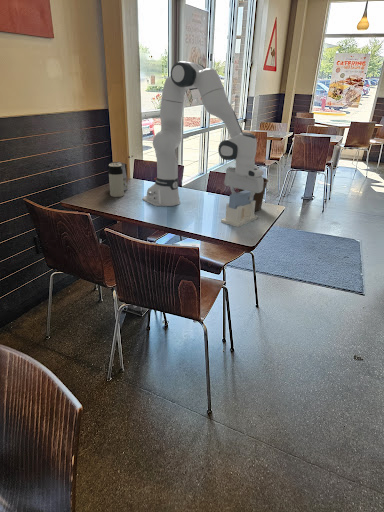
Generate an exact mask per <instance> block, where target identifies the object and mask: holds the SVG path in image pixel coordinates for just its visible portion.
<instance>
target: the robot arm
mask: <svg viewBox="0 0 384 512" xmlns="http://www.w3.org/2000/svg"><path fill="white" fill-rule="evenodd" d="M223 85H224V84H223V82H222V80H221V77H220V75H219V74H218V72H217V71H216V70H215V69H214V68H211V67H207V68H206V67H205V66H204V65H203V64H198V63H197V62H193V61H184V60H181V61H177V62H176V63H174V64H173V65H172V67H171V70H170V75H169V76H168V77H167V78H165V81H164V84H163V88H162V91H161V92H162V93H161V100H160V101H161V102H160V109H159V118H160V131H158V132H157V133H156V134H155V136H154V137H153V139H152V146H153V148H154V152H155V158H156V168H157V170H156V173H157V176H156V177H155V178H153V181H154V184H152V185H151V186H149V187H148V189H147V190H146V195H145V196H143V197H142V200H143V201H145V202H147V203H148V204H151V205H153V206H155V207H163V206H164V207H171V206H177V205H178V206H179V204H181V200H180V194H179V193H180V192H179V181H180V180H179V177H178V176H179V174H178V171H179V170H178V169H179V168H178V166H179V164H178V160H177V152H176V149H177V148H178V147H179V146H180V145H181V143H182V117H183V116H182V115H183V109H184V108H183V107H184V101H185V100H184V99H185V94H186V92H187V91H188V90H190V91H194V90H198V93H199V94H200V98H201V102H202V104H203V107H204V108H205V110H206V112H207V113H208V114H209V115H211V116H214V117H216V118H218V119H220V121H222V122H223V124H224V125H225V127H226V129H227V132H228V135H229V137H230V138H227V139H226V138H225V139H223V140H222V141H220V142H219V145H218V149H217V150H218V155H219V157H220V158H221V159H222V160H223V161H231V160H234V161H235V167H233V166H228V167H227V168H226V170H225V176H224V182H223V183H224V186H227V187H230V188H229V189H230V192H231V195H232V194H235V193H237V192H236V191H235V189H238V190H239V189H242V190H246V191H250V192H251V193H250V194H251V196H249V197H248V200H250V201H251V200H252V198H253V196H254V194H255V193H260V192H262V191H263V184H264V180H263V178H264V177H263V176H264V174H265V173H264V170H262V169H261V168H259V167H257V166H256V165H255V164H256V162H255V159H256V158H255V157H256V154H257V148H258V147H257V146H258V145H257V144H258V142H257V141H258V140H257V137H256V135H254V134H253V133H250V132H243V129H242V127H241V125H240V123H239V120H238V117H237V116H236V113H235V111H234V109H233V107H232V105H231V104H230V101H229V99H228V97H227V94H226V92H225V88H224V86H223Z"/></svg>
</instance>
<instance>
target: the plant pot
mask: <svg viewBox="0 0 384 512" xmlns="http://www.w3.org/2000/svg"><path fill="white" fill-rule="evenodd" d="M263 180H264V184H263V191H262V192H260V193H255V194H254V198H253V201H254V200H255V201H256V202H255V211H254V212H257V211H261V210H262V206H263V205H262V204H263V200H264V195H265V192H266V191H265V190H266V189H267V184H268V182H269V180H268V179H267V178H265V177H263ZM241 191H244V190H242V189H238V192H241Z"/></svg>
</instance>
